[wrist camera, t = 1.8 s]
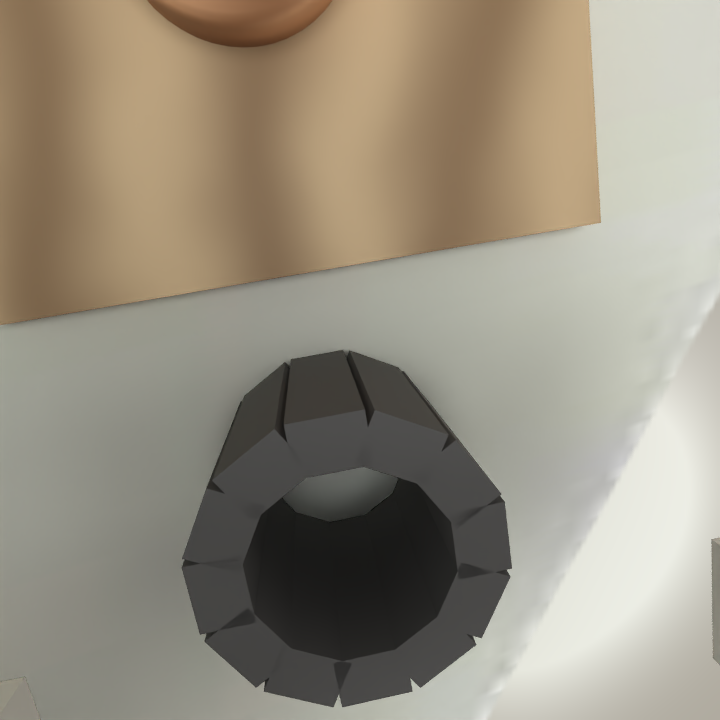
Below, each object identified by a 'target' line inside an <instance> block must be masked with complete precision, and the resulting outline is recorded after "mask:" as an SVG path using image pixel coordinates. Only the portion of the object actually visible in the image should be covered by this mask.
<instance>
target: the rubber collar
mask: <svg viewBox="0 0 720 720" xmlns="http://www.w3.org/2000/svg"><path fill="white" fill-rule="evenodd" d="M360 467H366V468H369V469H373V470H376V471H379V472H382V473H385V474H388V475H392V476H395V477H398V478H399V480H398V482H397V485H396V487H395V490H394V492H393V494H391V495H390V496H389V497H388V498H386V499H385V500H384V501H383V502H381V503H380V504H379V505H378V506H376V507H375V508H374V509H373V510H371V511H370V512H369V513H368V514H366V515H365V516H360V517H355V518H350V519H345V520H340V521H335V522H326V521H323V520H320V519H316V518H313V517H309V516H306V515H302V514H299V513H296V512H295V511H294V510H293V509H292V508H291V507H290V506H289V505H288V504H287V503H286V502H285V501H284V500H283V499H282V497H283V496H284V495H286V494H287V493H288V492H289V491H290V490H292V489H293V488H294V487H295V486H297V485H298V484H299V483H300V482H302V481H303V480H304V479H305V478H309V477H314V476H319V475H324V474H329V473H334V472H339V471H345V470H350V469H355V468H360ZM500 495H501V493H500V492H499V490H498V489H497V488H496V487H495V485H494V484H493V483H492V482H491V480H490V479H489V478H488V476H487V475H486V474H485V473H484V471H483V470H482V469H481V468H480V466H479V465H478V464H477V462H476V461H475V460H474V459H473V457H472V456H471V455H470V454H469V452H468V451H467V450H466V448H465V447H464V446H463V445H462V443H461V442H460V441H459V440H458V438H457V437H456V436H455V434H454V433H453V432H452V431H451V429H450V428H449V427H448V425H447V424H446V423H445V422H444V420H443V419H442V418H441V417H440V415H439V414H438V413H437V411H436V410H435V409H434V408H433V406H432V405H431V404H430V403H429V402H428V400H427V399H426V398H425V397H424V396H423V394H422V393H421V392H420V391H419V390H418V388H417V387H416V386H415V385H414V384H413V382H412V381H411V380H410V379H409V378H408V376H407V375H406V374H405V373H404V371H403V372H401V371H400V369H399V368H398V367H395V366H392V365H389V364H386V363H384V362H381V361H378V360H375V359H372V358H369V357H367V356H364V355H361V354H358V353H355V352H352V351H349V354H348V356H347V359H346V356H345V354H344V351H343V350H341V351H335V352H330V353H324V354H319V355H313V356H308V357H302V358H297V359H291V363H290V367H289V366H288V365H287V364H286V363H284V364H282V365H281V366H280V367H279V368H278V369H276V370H275V371H274V372H273V373H272V374H270V375H269V376H268V377H267V378H266V379H264V380H263V381H262V382H261V383H260V384H258V385H257V386H256V387H255V388H254V389H252V390H251V391H250V392H249V393H248V394H246V395H245V396H244V399H243V402H242V401H241V402H240V405H239V407H238V410H237V413H236V415H235V418H234V420H233V423H232V425H231V428H230V430H229V433H228V435H227V438H226V440H225V443H224V445H223V448H222V450H221V453H220V455H219V458H218V460H217V463H216V465H215V468H214V470H213V473H212V475H211V478H210V481H209V483H208V486H207V488H206V491H205V494H204V497H203V500H202V503H201V505H200V508H199V511H198V514H197V517H196V520H195V523H194V526H193V529H192V531H191V534H190V537H189V540H188V543H187V546H186V549H185V552H184V555H183V558H182V559H185V560H184V563H183V566H182V570H183V574H184V578H185V581H186V585H187V589H188V592H189V596H190V600H191V603H192V607H193V611H194V614H195V618H196V622H197V625H198V629H199V633H200V634H205V633H207V634H206V638H205V643H207V644H208V645H209V646H210V647H211V648H212V649H213V650H214V651H216V652H217V653H218V654H219V655H220V656H221V657H222V658H223V659H225V660H226V661H227V662H228V663H229V664H230V665H231V666H232V667H234V668H235V669H236V670H237V671H238V672H239V673H240V674H241V675H243V676H244V677H245V678H246V679H247V680H248V681H249V682H250V683H252V684H253V685H254V686H255V687H258V686H259V685H260V684H261V683H263V682H264V681H265V685H264V692H268V693H273V694H277V695H281V696H286V697H290V698H295V699H299V700H303V701H308V702H312V703H316V704H321V705H325V706H330V707H334V704H335V702H336V700H337V697H338V695H340V699H341V704H342V707H346V706H350V705H355V704H359V703H363V702H368V701H372V700H377V699H381V698H386V697H390V696H395V695H399V694H404V693H408V692H412V686H411V680H410V678H411V679H412V680H413V681H414V682H415V683H416V684H417V685H418V686H419V687H420V688H421V687H422V686H423V685H425V684H426V683H427V682H429V681H430V680H431V679H432V678H434V677H435V676H436V675H438V674H439V673H440V672H442V671H443V670H444V669H445V668H447V667H448V666H449V665H451V664H452V663H453V662H455V661H456V660H457V659H458V658H460V657H461V656H462V655H464V654H465V653H466V652H467V651H469V650H470V649H471V648H473V647H474V646H475V645H476V643H475V641H474V638H473V636H476V637H479V638H482V636H483V634H484V632H485V630H486V628H487V626H488V624H489V621H490V619H491V617H492V615H493V613H494V611H495V609H496V606H497V604H498V602H499V600H500V598H501V596H502V594H503V591H504V589H505V587H506V585H507V583H508V581H509V579H510V575H509V573H508V572H507V569H512V565H511V556H510V546H509V537H508V528H507V519H506V510H505V502H504V500H503V499H502V498H501V497H500Z"/></svg>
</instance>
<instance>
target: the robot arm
mask: <svg viewBox="0 0 720 720" xmlns="http://www.w3.org/2000/svg"><path fill="white" fill-rule="evenodd" d="M712 613H713V614H712V619H713V620H712V622H713V658H714V660H715V661H716V662H717V663H718V664H719V665H720V538H715V539H712ZM0 720H41V719H40V716H39V714H38V711H37V708H36V705H35V703H34V700H33V697H32V695H31V692H30V689H29V686H28V684H27V681H26V678H25V677H21V678H16V679H11V680H6V681H1V682H0Z"/></svg>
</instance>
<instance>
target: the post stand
mask: <svg viewBox="0 0 720 720" xmlns="http://www.w3.org/2000/svg"><path fill="white" fill-rule="evenodd" d="M596 223H601V216H600V198H599V180H598V162H597V143H596V125H595V107H594V89H593V71H592V53H591V35H590V17H589V0H0V325H4V324H10V323H16V322H21V321H27V320H33V319H39V318H45V317H51V316H57V315H62V314H68V313H74V312H80V311H86V310H92V309H98V308H103V307H109V306H115V305H121V304H127V303H133V302H139V301H145V300H150V299H156V298H162V297H168V296H174V295H180V294H186V293H191V292H197V291H203V290H209V289H215V288H221V287H227V286H232V285H238V284H244V283H250V282H256V281H262V280H268V279H273V278H279V277H285V276H291V275H297V274H303V273H309V272H315V271H320V270H326V269H332V268H338V267H344V266H350V265H356V264H361V263H367V262H373V261H379V260H385V259H391V258H397V257H402V256H408V255H414V254H420V253H426V252H432V251H438V250H444V249H449V248H455V247H461V246H467V245H473V244H479V243H485V242H490V241H496V240H502V239H508V238H514V237H520V236H526V235H531V234H537V233H543V232H549V231H555V230H561V229H567V228H573V227H578V226H584V225H590V224H596Z"/></svg>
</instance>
